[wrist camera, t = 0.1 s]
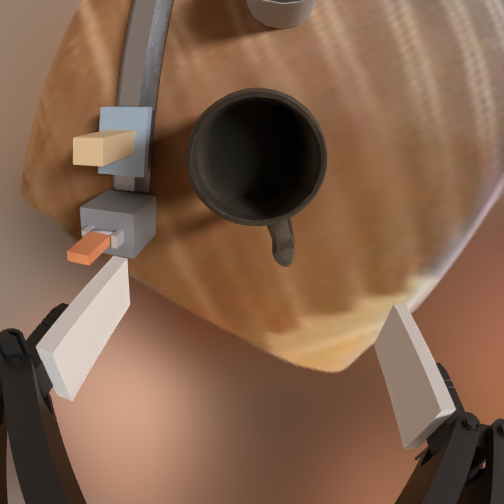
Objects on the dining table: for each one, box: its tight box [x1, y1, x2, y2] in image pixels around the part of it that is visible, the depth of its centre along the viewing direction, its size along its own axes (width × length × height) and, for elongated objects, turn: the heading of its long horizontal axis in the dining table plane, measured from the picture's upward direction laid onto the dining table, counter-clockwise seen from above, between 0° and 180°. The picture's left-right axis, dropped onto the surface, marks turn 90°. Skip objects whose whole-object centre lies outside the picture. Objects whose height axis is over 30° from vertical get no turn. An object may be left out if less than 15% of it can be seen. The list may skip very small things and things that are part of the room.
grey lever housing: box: [80, 190, 157, 259], centre depth 38 cm, size 6×8×10 cm
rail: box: [113, 0, 174, 192], centre depth 33 cm, size 31×6×2 cm, turn 172°
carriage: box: [73, 106, 152, 178], centre depth 32 cm, size 9×7×11 cm
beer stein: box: [186, 88, 327, 267], centre depth 29 cm, size 15×11×20 cm
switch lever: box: [67, 229, 114, 265], centre depth 32 cm, size 1×3×7 cm, turn 82°
